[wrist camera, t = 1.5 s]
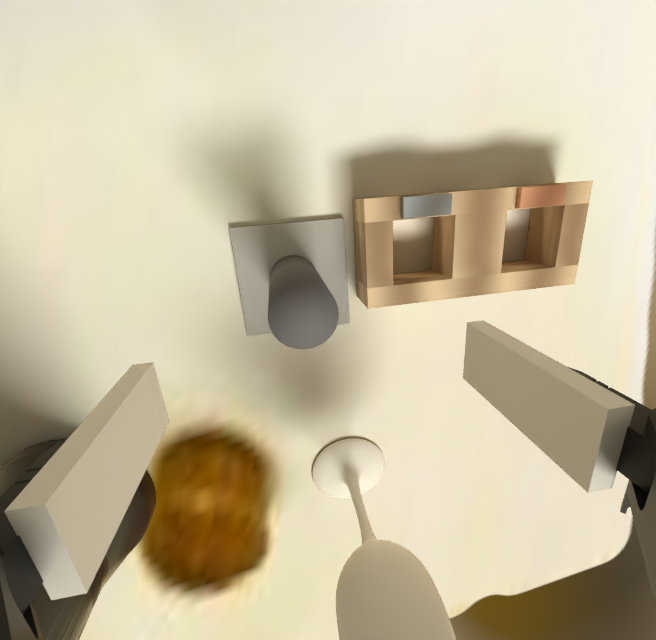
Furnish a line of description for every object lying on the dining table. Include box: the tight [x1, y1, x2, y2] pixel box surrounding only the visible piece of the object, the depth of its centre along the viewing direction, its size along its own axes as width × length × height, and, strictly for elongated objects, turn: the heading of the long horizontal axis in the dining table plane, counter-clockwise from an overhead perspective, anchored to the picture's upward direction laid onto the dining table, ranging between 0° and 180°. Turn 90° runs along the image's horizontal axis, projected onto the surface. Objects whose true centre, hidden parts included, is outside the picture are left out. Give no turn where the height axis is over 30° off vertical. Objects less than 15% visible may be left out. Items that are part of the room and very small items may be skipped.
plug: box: [268, 255, 339, 349], centre depth 26 cm, size 4×4×11 cm
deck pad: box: [229, 218, 350, 336], centre depth 31 cm, size 10×10×1 cm
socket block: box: [353, 181, 593, 309], centre depth 30 cm, size 20×9×5 cm, turn 95°
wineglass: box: [312, 438, 456, 640], centre depth 30 cm, size 9×9×21 cm
